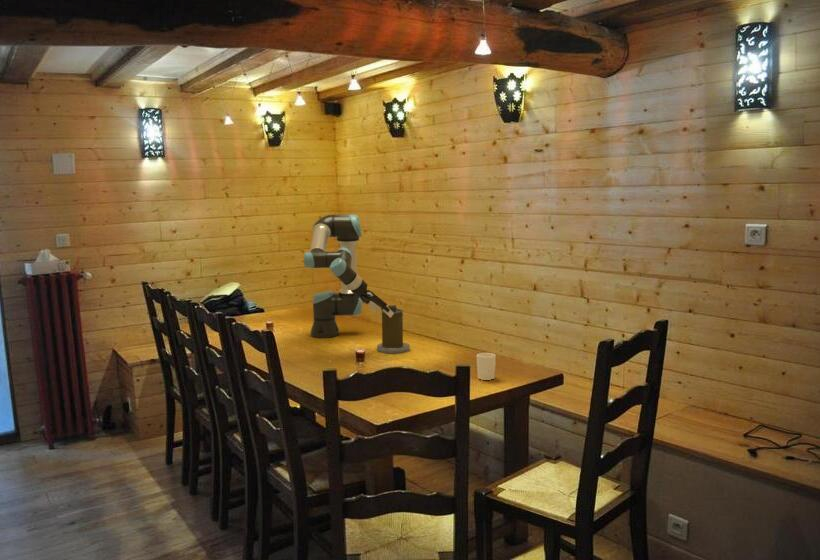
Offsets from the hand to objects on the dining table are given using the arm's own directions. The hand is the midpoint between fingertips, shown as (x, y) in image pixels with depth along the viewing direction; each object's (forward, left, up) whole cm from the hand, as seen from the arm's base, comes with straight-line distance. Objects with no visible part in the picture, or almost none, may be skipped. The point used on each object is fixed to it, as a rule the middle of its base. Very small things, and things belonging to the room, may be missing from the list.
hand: (384, 313), depth 324 cm
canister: (-1, +4, -17) cm, 18 cm away
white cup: (+63, +12, -19) cm, 67 cm away
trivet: (-1, +5, -19) cm, 19 cm away
